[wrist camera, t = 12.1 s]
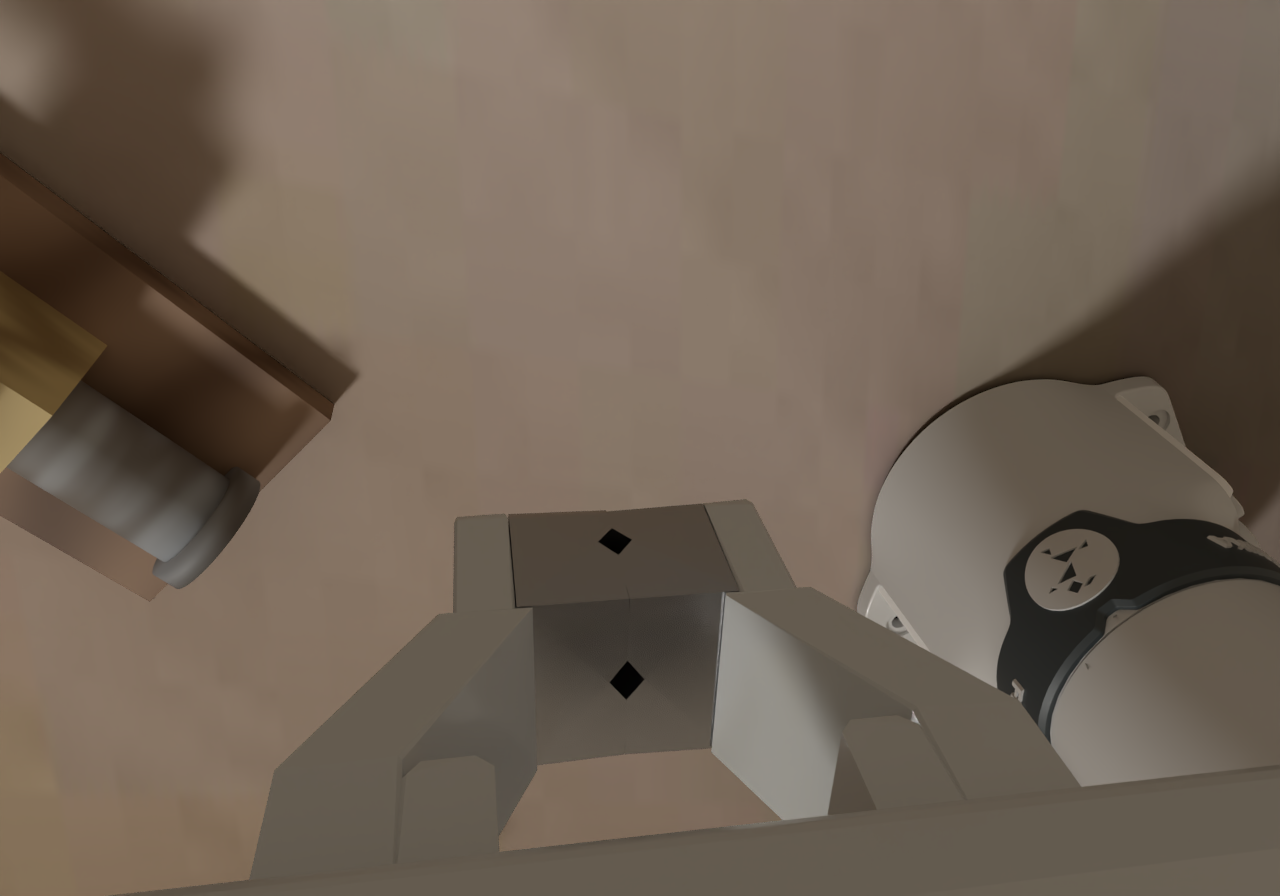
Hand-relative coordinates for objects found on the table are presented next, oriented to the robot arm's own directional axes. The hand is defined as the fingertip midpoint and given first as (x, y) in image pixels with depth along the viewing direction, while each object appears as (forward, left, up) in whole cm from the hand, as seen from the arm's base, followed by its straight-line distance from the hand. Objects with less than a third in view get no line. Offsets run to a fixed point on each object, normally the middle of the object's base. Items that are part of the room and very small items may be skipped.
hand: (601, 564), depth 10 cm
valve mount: (+7, +20, -31) cm, 37 cm away
